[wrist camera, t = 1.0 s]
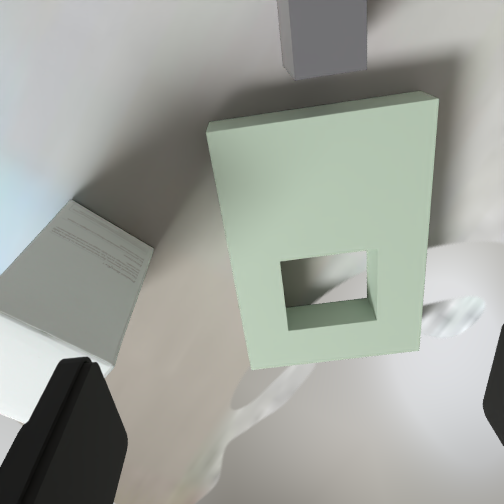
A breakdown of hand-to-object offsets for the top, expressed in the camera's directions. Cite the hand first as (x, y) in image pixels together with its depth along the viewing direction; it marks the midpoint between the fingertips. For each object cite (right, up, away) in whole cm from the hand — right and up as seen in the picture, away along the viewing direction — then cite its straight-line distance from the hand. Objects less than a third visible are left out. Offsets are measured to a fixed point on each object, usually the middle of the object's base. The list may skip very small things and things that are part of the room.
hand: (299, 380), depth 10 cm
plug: (+2, +17, +15) cm, 23 cm away
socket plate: (+4, +4, +23) cm, 23 cm away
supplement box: (-14, +3, +23) cm, 27 cm away
